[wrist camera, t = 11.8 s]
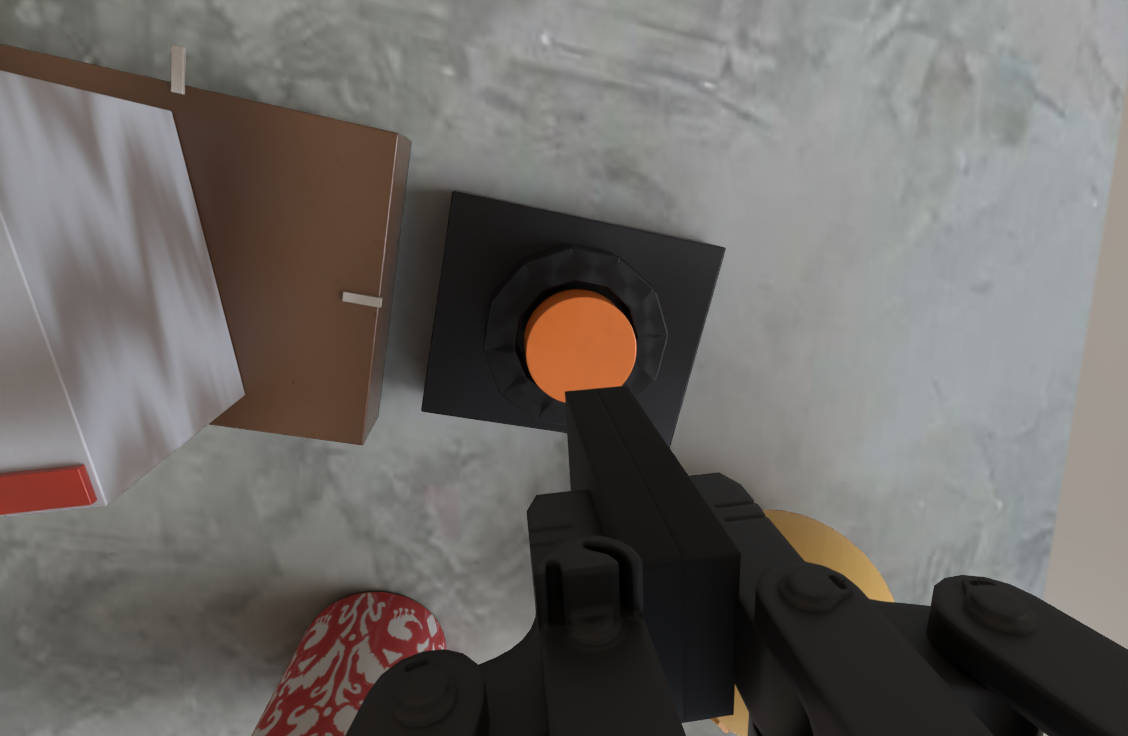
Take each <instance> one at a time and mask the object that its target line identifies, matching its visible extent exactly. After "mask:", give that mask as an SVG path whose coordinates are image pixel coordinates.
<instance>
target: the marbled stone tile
mask: <svg viewBox="0 0 1128 736" xmlns="http://www.w3.org/2000/svg"><path fill="white" fill-rule="evenodd" d="M244 395H245V392H244V388H243V384H242V380H241V377H240V373H239V369H238V365H237V361H236V357H235V354H234V350H233V346H232V342H231V338H230V334H229V330H228V327H227V323H226V319H225V315H224V311H223V307H222V303H221V300H220V296H219V292H218V288H217V284H216V280H215V277H214V273H213V269H212V265H211V261H210V257H209V253H208V250H207V246H206V242H205V238H204V234H203V230H202V227H201V223H200V219H199V215H198V211H197V207H196V203H195V200H194V196H193V192H192V188H191V184H190V180H189V176H188V173H187V169H186V165H185V161H184V157H183V153H182V150H181V146H180V142H179V138H178V134H177V130H176V126H175V123H174V119H173V115H172V112H171V111H170V110H166V109H161V108H157V107H153V106H149V105H145V104H140V103H136V102H132V101H128V100H124V99H119V98H115V97H111V96H107V95H103V94H98V93H94V92H90V91H86V90H82V89H77V88H73V87H69V86H65V85H61V84H56V83H52V82H48V81H44V80H40V79H35V78H31V77H27V76H23V75H19V74H14V73H10V72H6V71H2V70H0V515H3V514H4V516H6V517H8V516H17V515H27V514H36V513H45V512H54V511H63V510H72V509H81V508H90V507H99V506H107V505H108V504H110V503H111V502H112V501H113V500H115V499H116V498H117V497H118V496H120V495H121V494H122V493H123V492H125V491H126V490H127V489H128V488H130V487H131V486H132V485H133V484H135V483H136V482H137V481H138V480H140V479H141V478H142V477H143V476H144V475H146V474H147V473H148V472H149V471H151V470H152V469H153V468H154V467H156V466H157V465H158V464H159V463H161V462H162V461H163V460H164V459H166V458H167V457H168V456H169V455H171V454H172V453H173V452H174V451H176V450H177V449H178V448H179V447H181V446H182V445H183V444H184V443H186V442H187V441H188V440H189V439H191V438H192V437H193V436H194V435H196V434H197V433H198V432H199V431H201V430H202V429H203V428H204V427H206V426H207V425H208V424H209V423H211V422H212V421H213V420H214V419H216V418H217V417H218V416H219V415H220V414H222V413H223V412H224V411H225V410H227V409H228V408H229V407H230V406H232V405H233V404H234V403H235V402H237V401H238V400H239V399H240V398H242V397H243V396H244Z"/></svg>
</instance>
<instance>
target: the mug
mask: <svg viewBox="0 0 1128 736" xmlns="http://www.w3.org/2000/svg"><path fill="white" fill-rule="evenodd" d="M441 649H446V641H445V636H444V633H443V630H442V628H441V626H440V624H439V623H438V621H437V620H436V618H435V617H434V615H433V614H432V613H431V612H430V611H428V610H427V609H426V608H425V607H423V606H422V605H421V604H419V603H417V602H415V601H414V600H411V599H409V598H407V597H404V596H401V595H397V594H393V593H388V592H366V593H359V594H355V595H351V596H348V597H345V598H343V599H341V600H339V601H337V602H335V603H332V604H331V605H330V606H328V607H327V608H325V609H324V610H323V611H322V612H321V613H320V614H319V615H318V616H317V617H316V618H315V619H314V620H313V622H312V623H311V625H310V626H309V628H308V629H307V631H306V633H305V634H304V636H303V638H302V640H301V642H300V644H299V646H298V648H297V650H296V652H295V653H294V655H293V657H292V659H291V661H290V663H289V665H288V667H287V669H286V671H285V673H284V675H283V677H282V678H281V680H280V682H279V684H278V686H277V688H276V690H275V691H274V693H273V695H272V697H271V699H270V701H269V703H268V705H267V707H266V709H265V711H264V713H263V715H262V716H261V718H260V720H259V722H258V724H257V726H256V728H255V730H254V732H253V734H252V736H345V735H346V733H347V731H348V729H349V727H350V726H351V724H352V722H353V720H354V718H355V716H356V714H357V712H358V710H359V708H360V706H361V705H362V703H363V701H364V699H365V697H366V695H367V693H368V692H369V690H370V689H371V688H372V686H373V685H374V684H375V682H376V681H377V680H378V678H379V677H380V676H381V674H383V673H384V672H385V671H387V670H388V669H389V668H391V667H392V666H393V665H395V664H396V663H398V662H399V661H400V660H402V659H405V658H407V657H410V656H412V655H415V654H417V653H420V652H422V651H431V650H441Z"/></svg>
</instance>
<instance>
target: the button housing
mask: <svg viewBox="0 0 1128 736" xmlns="http://www.w3.org/2000/svg"><path fill="white" fill-rule="evenodd" d="M725 250H726V249H725V248H724V247H720V246H717V245H713V244H709V243H705V242H700V241H695V240H691V239H686V238H681V237H676V236H672V235H667V234H662V233H658V232H653V231H648V230H643V229H639V228H634V227H629V226H624V225H620V224H615V223H610V222H606V221H601V220H596V219H591V218H587V217H582V216H577V215H573V214H568V213H563V212H558V211H554V210H549V209H544V208H540V207H535V206H530V205H525V204H521V203H516V202H511V201H507V200H502V199H497V198H492V197H488V196H483V195H478V194H474V193H469V192H464V191H459V190H454V191H453V192H452V199H451V206H450V213H449V220H448V227H447V234H446V241H445V248H444V255H443V262H442V269H441V276H440V283H439V290H438V297H437V304H436V311H435V318H434V325H433V332H432V339H431V346H430V353H429V360H428V367H427V374H426V381H425V388H424V395H423V402H422V409H421V410H422V412H429V413H435V414H442V415H449V416H456V417H463V418H469V419H476V420H483V421H490V422H496V423H503V424H510V425H517V426H524V427H530V428H537V429H544V430H551V431H557V432H564V433H567V419H566V403H565V402H562V401H559V400H556V399H554V398H552V397H550V396H549V395H548V394H546V393H545V392H544V391H543V390H541V389H540V388H539V386H538V385H537V384H536V383H535V381H534V380H533V378H532V376H531V374H530V372H529V369H528V366H527V361H526V354H525V348H524V334H525V329H526V325H527V322H528V320H529V318H530V316H531V314H532V313H533V311H534V310H535V309H536V307H537V306H538V305H539V304H540V303H541V302H543V301H544V300H545V299H546V298H548V297H550V296H551V295H553V294H555V293H558V292H560V291H564V290H569V289H586V290H590V291H594V292H596V293H599V294H601V295H603V296H604V297H606V298H607V299H608V300H610V301H611V302H612V303H613V304H614V305H615V306H616V307H617V308H618V309H619V310H620V311H621V312H622V313H623V314H624V315H625V317H626V318H627V319H628V321H629V322H630V324H631V326H632V328H633V331H634V334H635V338H636V346H637V350H636V359H635V363H634V366H633V369H632V371H631V373H630V375H629V377H628V378H627V380H626V381H625V382H624V383H623V385H622V386H626V385H627V386H628V388H629V389H630V391H631V392H632V394H633V395H634V397H635V398H636V400H637V401H638V403H639V404H640V405H641V407H642V408H643V410H644V411H645V413H646V414H647V416H648V417H649V419H650V420H651V422H652V423H653V425H654V426H655V428H656V429H657V431H658V432H659V433H660V435H661V436H662V438H663V439H664V441H665V442H666V444H667V445H668V447H669V448H670V445H671V441H672V438H673V434H674V431H675V427H676V424H677V420H678V416H679V413H680V409H681V406H682V402H683V399H684V395H685V392H686V388H687V384H688V381H689V377H690V374H691V370H692V367H693V363H694V360H695V356H696V353H697V349H698V345H699V342H700V338H701V335H702V331H703V328H704V324H705V321H706V317H707V314H708V310H709V306H710V303H711V299H712V296H713V292H714V289H715V285H716V282H717V278H718V275H719V271H720V267H721V264H722V260H723V257H724V253H725Z"/></svg>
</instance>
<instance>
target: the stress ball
mask: <svg viewBox="0 0 1128 736" xmlns="http://www.w3.org/2000/svg"><path fill="white" fill-rule="evenodd" d="M762 511H763V512H764V513H765V517H768V518H769V519H770V520H771V521H772V523H773V524H774V525H775V526H776V527H777V529H778V530H779V531H780V532H781V533H782V535H783V536H784V537H785V538H786V539H787V541H788V542H789V543H790V544H791V545H792V547H793V548H794V549H795V550H796V551H797V552H798V554H799V555H800V556H801V557H802V558H803V560H804V561H805V562H810V563H814V564H818V565H823V566H826V567H828V568H830V569H832V570H834V571H836V572H839V573H841V574H843V575H844V576H845V577H847V578H848V579H849V580H850V581H852V582H853V583H854V584H855V585H857V586H858V587H859V588H860V589H861V590H862V592H863V593H864V594H865V595H866V596H867V597H868V598H869V599H873V600H879V601H886V602H895V601H894V599H893V597H892V595H891V593H890V591H889V588H888V586H887V584H886V583H885V581H884V580H883V578H882V576H881V575H880V573H879V572H878V570H877V569H876V567H875V566H874V565H873V564H872V563H871V561H870V560H869V559H868V558H867V557H866V556H865V554H864V553H863V552H862V551H861V550H860V549H858V548H857V547H856V546H855V545H854V544H853V543H852V542H851V541H849V540H848V539H847V538H846V537H844V536H843V535H841V534H840V533H839V532H837V531H835V530H834V529H832V528H830V527H829V526H827V525H825V524H823V523H821V522H819V521H817V520H814V519H812V518H809V517H807V516H803V515H800V514H796V513H792V512H786V511H780V510H762ZM710 719H711V720H712V721H713V722H714V723H715V724H716V725H717V726H718V727H719V728H720V729H721V730H723V731H724V732H725V733H726V734H727V733H728V732H729V731H731V732H733V733H734V734H736V735H738V736H748V719H749V712H748V710H747V708H746V706H745V704H744V702H743V699H742V697H741V695H740V693H739V691H738V689H737V687H736V685H735V695H734V715H730V716H723V717H717V718H710Z"/></svg>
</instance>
